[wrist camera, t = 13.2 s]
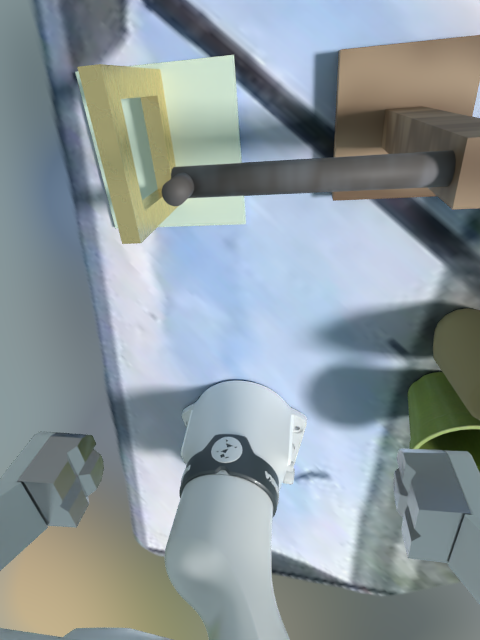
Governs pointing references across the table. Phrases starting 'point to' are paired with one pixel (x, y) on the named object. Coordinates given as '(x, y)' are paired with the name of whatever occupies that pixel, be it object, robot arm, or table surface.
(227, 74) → the sage mat
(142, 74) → the yellow picture frame
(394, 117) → the hook stand
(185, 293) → the table surface
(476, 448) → the plant pot
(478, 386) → the squeeze bottle
